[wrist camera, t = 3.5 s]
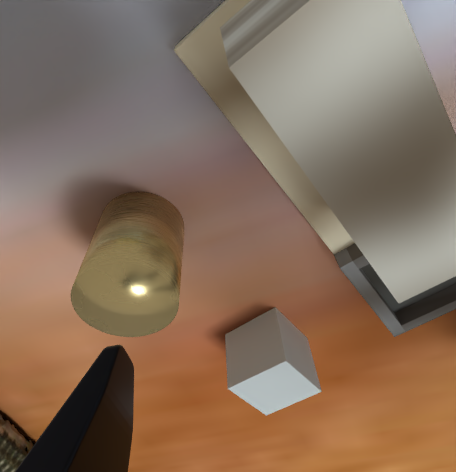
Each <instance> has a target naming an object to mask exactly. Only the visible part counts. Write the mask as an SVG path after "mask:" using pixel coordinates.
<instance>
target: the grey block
mask: <svg viewBox="0 0 456 472" xmlns="http://www.w3.org/2000/svg"><path fill="white" fill-rule="evenodd" d="M225 342H226V362H227V382H228V389H229V390H230V391H232V392H233V393H235V394H236V395H238V396H239V397H241V398H242V399H243V400H245V401H246V402H248V403H249V404H251V405H252V406H254V407H255V408H256V409H258V410H259V411H261V412H262V413H264V414H265V415H268V414H271V413H273V412H275V411H278V410H280V409H282V408H285V407H287V406H289V405H292V404H294V403H296V402H299V401H301V400H303V399H306V398H308V397H310V396H313V395H315V394H317V393H320V392H322V391H321V387H320V384H319V380H318V376H317V372H316V369H315V365H314V361H313V357H312V354H311V350H310V346H309V342H308V339H307V337H306V336H305V335H304V334H302V333H301V332H300V331H299V330H298V329H297V328H296V327H295V326H294V325H293V324H292V323H291V322H290V321H289V320H288V319H287V318H286V317H285V316H284V315H283V314H282V313H281V312H280V311H279V310H278V309H277V308H276V307H275V308H273V309H271V310H269V311H267V312H266V313H264V314H262V315H260V316H258V317H256V318H255V319H253V320H251V321H249V322H247V323H245V324H244V325H242V326H240V327H238V328H236V329H234V330H232V331H231V332H229V333H227V334H225Z"/></svg>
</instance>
